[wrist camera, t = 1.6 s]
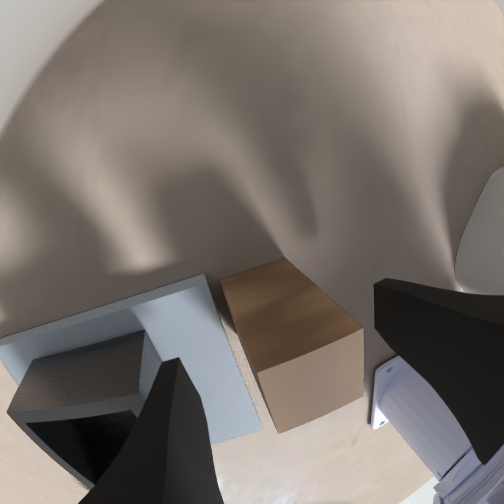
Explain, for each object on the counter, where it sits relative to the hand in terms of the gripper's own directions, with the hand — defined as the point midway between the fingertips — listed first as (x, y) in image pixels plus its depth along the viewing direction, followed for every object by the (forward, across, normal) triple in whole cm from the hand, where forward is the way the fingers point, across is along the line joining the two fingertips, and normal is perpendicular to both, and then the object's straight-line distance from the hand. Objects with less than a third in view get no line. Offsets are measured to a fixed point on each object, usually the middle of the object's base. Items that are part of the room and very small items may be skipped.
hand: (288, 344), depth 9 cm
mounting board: (+4, +8, +3) cm, 9 cm away
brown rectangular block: (+4, 0, 0) cm, 4 cm away
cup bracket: (+3, +8, +4) cm, 9 cm away
